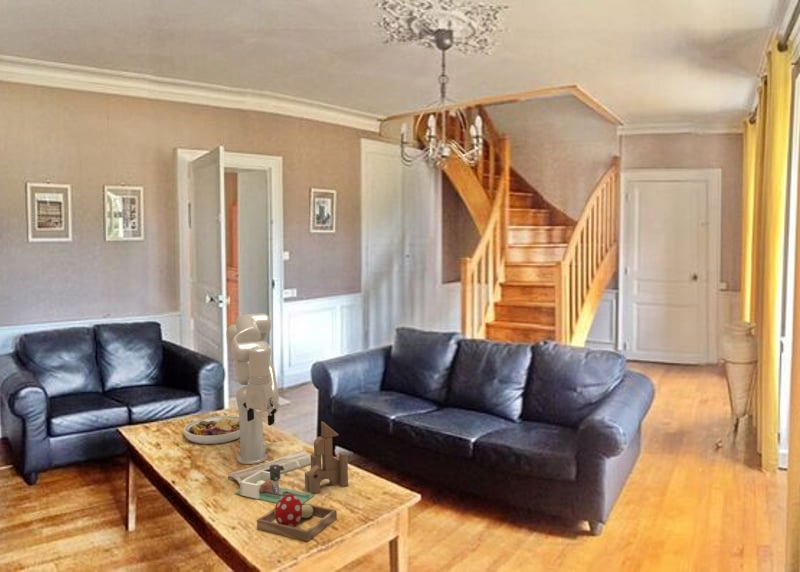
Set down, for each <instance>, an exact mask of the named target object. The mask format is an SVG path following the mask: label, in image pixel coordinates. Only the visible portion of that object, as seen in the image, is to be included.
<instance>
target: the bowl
mask: <svg viewBox="0 0 800 572" xmlns="http://www.w3.org/2000/svg"><path fill="white" fill-rule="evenodd" d="M183 433H184V434H183V435H184V437H185V438H186V439H187V440H188V441H190V442H192V443H196V444H199V445H200V444H202V445H216V444H217V445H219V444H223V443H229V442H230V443H231V442H233V441H235V440H238V439H240V425H239V416H234V415H233V416H232V415H219V416H210V417H206V418H202V419H197V420H194V421H192V422H189V423H188V424H187V425H185V426H184V428H183Z"/></svg>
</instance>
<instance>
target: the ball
mask: <svg viewBox="0 0 800 572" xmlns="http://www.w3.org/2000/svg"><path fill="white" fill-rule="evenodd" d="M263 483H265V481H263V480H260V481H258V482H257V483H256V484H259V491H261V487H260V485H262V484H263Z"/></svg>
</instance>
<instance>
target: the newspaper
mask: <svg viewBox="0 0 800 572" xmlns="http://www.w3.org/2000/svg"><path fill="white" fill-rule="evenodd" d="M311 455H312V454H309V453H308V452H305V450H304V449H300V450H298V451H295V452H292V453H289V454H286V455H284V456H282V457H279V458H277V459H273V460H271V461H268V462H265V463H260V464H258V465H254V466H250V467H246V468H243V469H239V470H235V471H233V472H229V473H228V476H227V479H228V481H229V480H230V481H234V480H236V482H238V485H239V486H240V482H241V481H242V480H244V479H246V478H248V477H250V476H251V475H253V474H255V473H257V472H259V471H260V470H262V471H267V472H270V466H271V465H280V475H283V474H286V473H287V474H288V473H289V472H292V471H296V470H300V469H303V468H306V467H309V466H311Z"/></svg>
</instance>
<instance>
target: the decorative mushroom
mask: <svg viewBox="0 0 800 572" xmlns="http://www.w3.org/2000/svg"><path fill="white" fill-rule="evenodd" d="M274 508H275V518H276V519H275V521H276V523H278V524H282V525H286V526H290V527H294V528H296V526H298V524H299V523H300V521H301V518H302V519H310V518H311V517H312V516H313V515H312V514H313V508H312V507H311V506H310V505H301V502H300V500H299V499H298V498H297V496H295V495H292V494H287V495H284V496H283V497H282V498H281V499H280V500H279V501H278V502H277V503H275V507H274Z"/></svg>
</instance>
